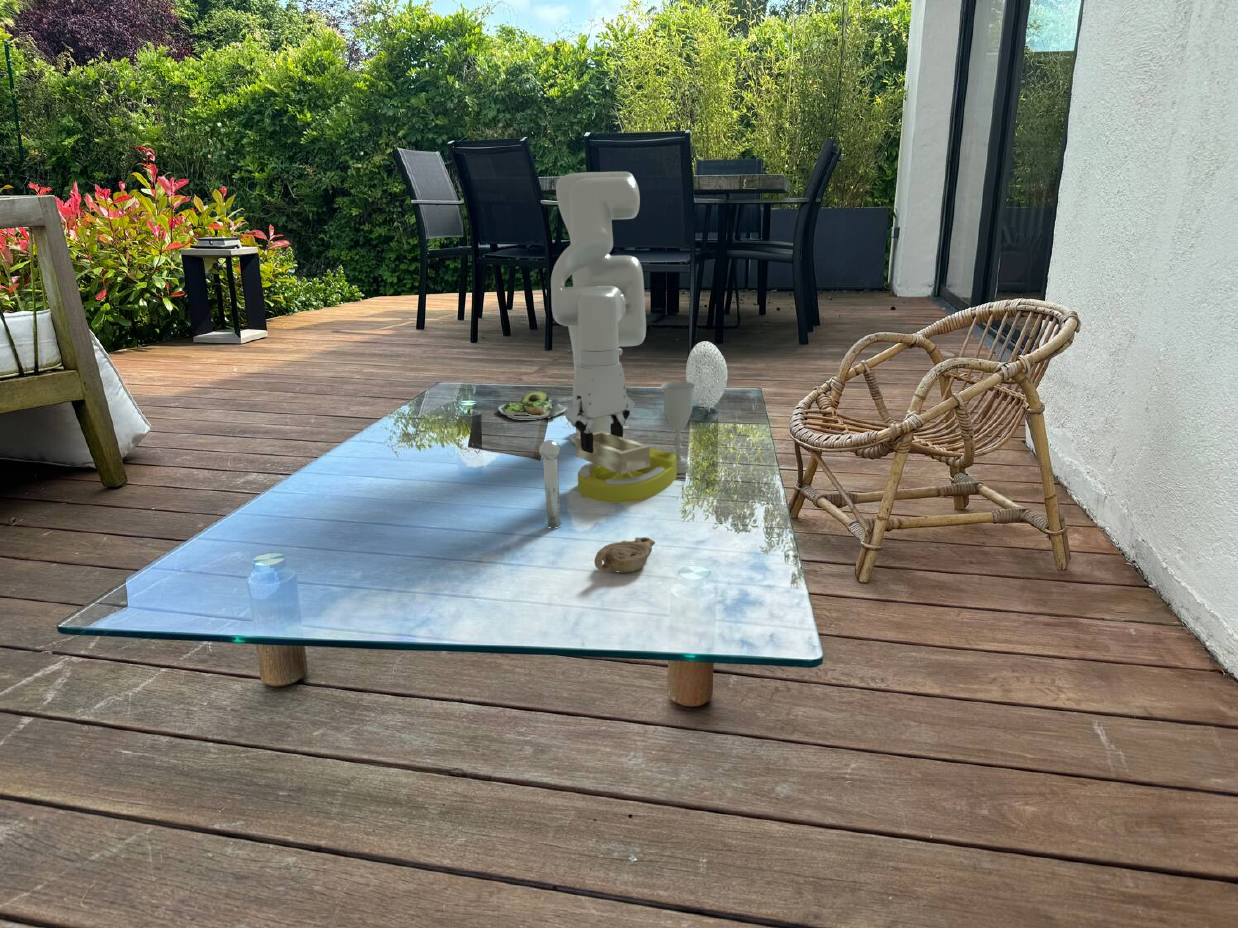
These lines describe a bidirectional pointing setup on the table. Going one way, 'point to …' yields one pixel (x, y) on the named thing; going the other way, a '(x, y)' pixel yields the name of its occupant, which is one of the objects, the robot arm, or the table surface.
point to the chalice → (678, 414)
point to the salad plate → (534, 406)
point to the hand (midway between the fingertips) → (602, 447)
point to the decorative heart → (706, 374)
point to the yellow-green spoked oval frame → (628, 480)
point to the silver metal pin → (551, 481)
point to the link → (615, 453)
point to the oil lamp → (624, 555)
